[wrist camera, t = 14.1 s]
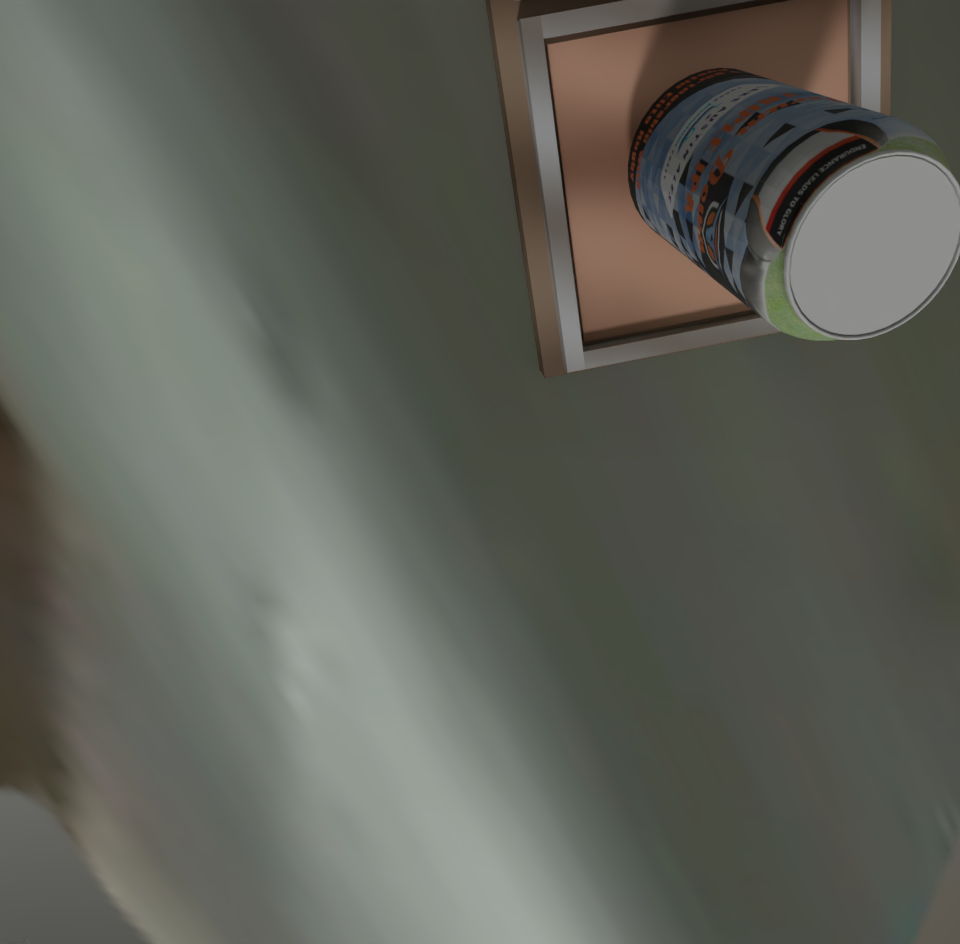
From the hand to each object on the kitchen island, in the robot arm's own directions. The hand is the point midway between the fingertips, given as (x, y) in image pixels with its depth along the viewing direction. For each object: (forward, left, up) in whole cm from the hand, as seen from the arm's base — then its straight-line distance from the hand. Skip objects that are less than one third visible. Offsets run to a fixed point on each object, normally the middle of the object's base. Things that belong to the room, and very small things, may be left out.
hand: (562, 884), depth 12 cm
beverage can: (-5, +11, -26) cm, 28 cm away
